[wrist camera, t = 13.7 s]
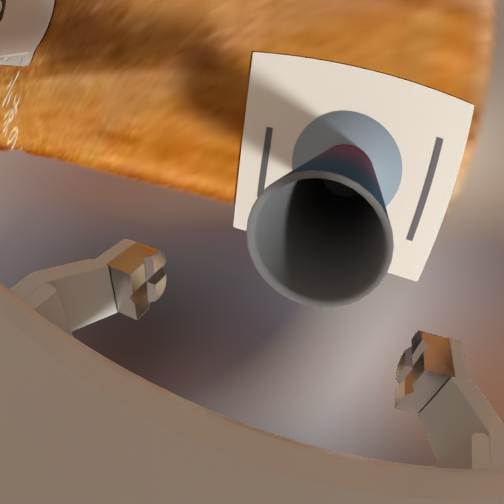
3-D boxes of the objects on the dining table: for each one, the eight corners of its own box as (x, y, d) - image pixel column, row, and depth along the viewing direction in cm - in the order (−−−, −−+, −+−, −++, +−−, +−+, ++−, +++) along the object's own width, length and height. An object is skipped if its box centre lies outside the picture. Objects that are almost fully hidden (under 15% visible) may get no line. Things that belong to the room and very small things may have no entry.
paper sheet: (234, 225, 33) (232, 227, 33) (254, 52, 24) (252, 51, 23) (417, 280, 28) (417, 282, 28) (473, 105, 19) (474, 105, 18)
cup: (372, 126, 23) (375, 153, 11) (390, 200, 25) (402, 299, 13) (298, 144, 26) (225, 191, 14) (320, 214, 29) (271, 313, 16)
